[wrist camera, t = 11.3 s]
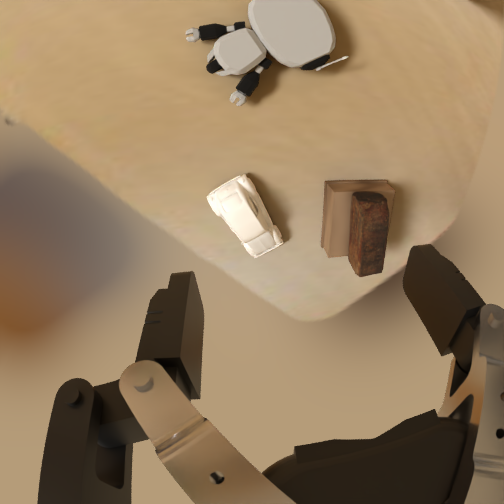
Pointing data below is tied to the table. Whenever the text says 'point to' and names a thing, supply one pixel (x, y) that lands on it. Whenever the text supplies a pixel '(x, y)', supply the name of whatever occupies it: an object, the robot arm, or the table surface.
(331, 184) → the base brick
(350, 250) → the brick
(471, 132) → the table surface
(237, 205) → the car
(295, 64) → the robot toy
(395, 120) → the table surface
